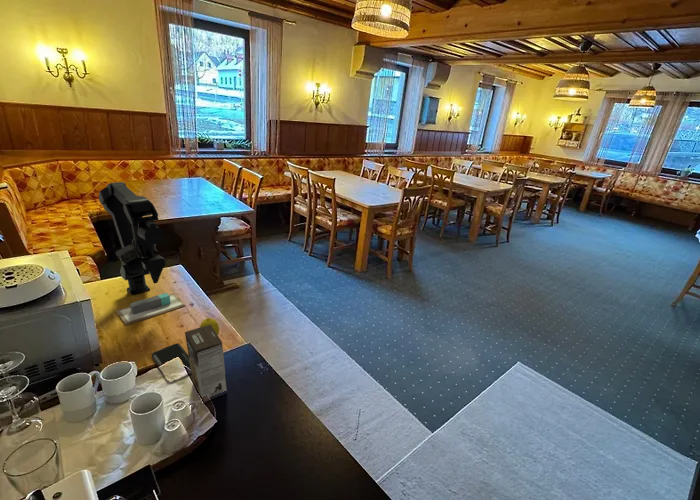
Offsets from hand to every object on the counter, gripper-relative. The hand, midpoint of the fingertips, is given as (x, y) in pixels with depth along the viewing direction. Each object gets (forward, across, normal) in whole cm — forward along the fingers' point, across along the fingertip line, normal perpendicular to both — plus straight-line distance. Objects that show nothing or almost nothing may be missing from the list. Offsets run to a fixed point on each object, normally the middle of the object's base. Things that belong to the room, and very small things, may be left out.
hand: (151, 278), depth 120 cm
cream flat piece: (+11, +1, -2) cm, 11 cm away
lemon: (+11, +32, +6) cm, 34 cm away
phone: (+12, +35, -6) cm, 37 cm away
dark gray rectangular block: (+10, +1, -2) cm, 11 cm away
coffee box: (+11, +51, -3) cm, 52 cm away
